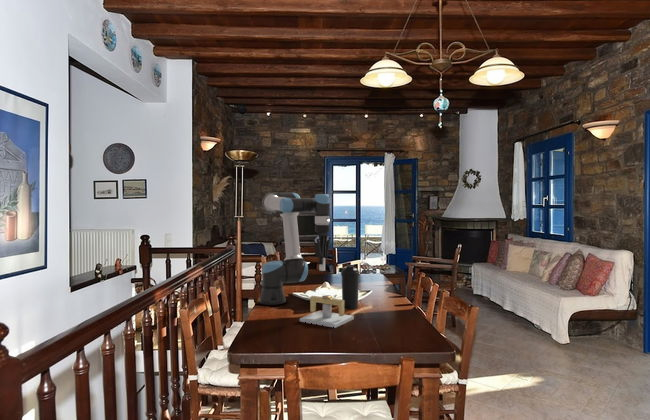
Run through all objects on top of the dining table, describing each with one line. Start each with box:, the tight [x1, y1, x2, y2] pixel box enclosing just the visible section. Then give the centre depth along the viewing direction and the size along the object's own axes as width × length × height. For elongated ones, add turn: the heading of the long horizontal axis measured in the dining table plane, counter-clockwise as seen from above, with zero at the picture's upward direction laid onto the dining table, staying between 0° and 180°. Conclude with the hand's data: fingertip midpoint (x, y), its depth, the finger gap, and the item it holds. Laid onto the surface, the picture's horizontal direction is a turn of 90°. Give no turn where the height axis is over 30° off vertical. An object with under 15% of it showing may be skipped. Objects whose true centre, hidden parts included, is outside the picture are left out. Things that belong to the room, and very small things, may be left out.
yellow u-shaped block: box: [309, 294, 345, 317], centre depth 216 cm, size 18×5×8 cm, turn 58°
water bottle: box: [340, 264, 360, 310], centre depth 243 cm, size 10×10×23 cm
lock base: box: [299, 303, 355, 329], centre depth 217 cm, size 20×18×8 cm
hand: (322, 270), depth 225 cm, fingers closed
